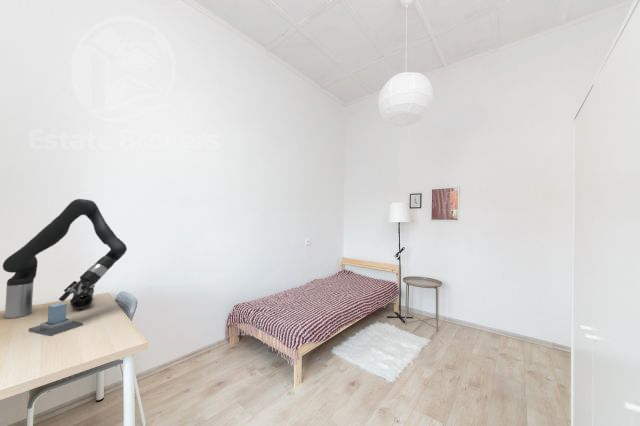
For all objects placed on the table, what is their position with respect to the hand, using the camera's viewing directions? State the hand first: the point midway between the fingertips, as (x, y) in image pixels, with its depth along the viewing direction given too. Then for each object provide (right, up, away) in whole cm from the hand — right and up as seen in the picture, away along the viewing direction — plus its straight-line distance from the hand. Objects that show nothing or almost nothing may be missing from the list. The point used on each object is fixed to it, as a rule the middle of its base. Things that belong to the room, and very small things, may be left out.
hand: (66, 301), depth 120 cm
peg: (-1, -11, -3) cm, 11 cm away
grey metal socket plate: (-1, -12, -3) cm, 12 cm away
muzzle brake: (-21, -13, +29) cm, 38 cm away
